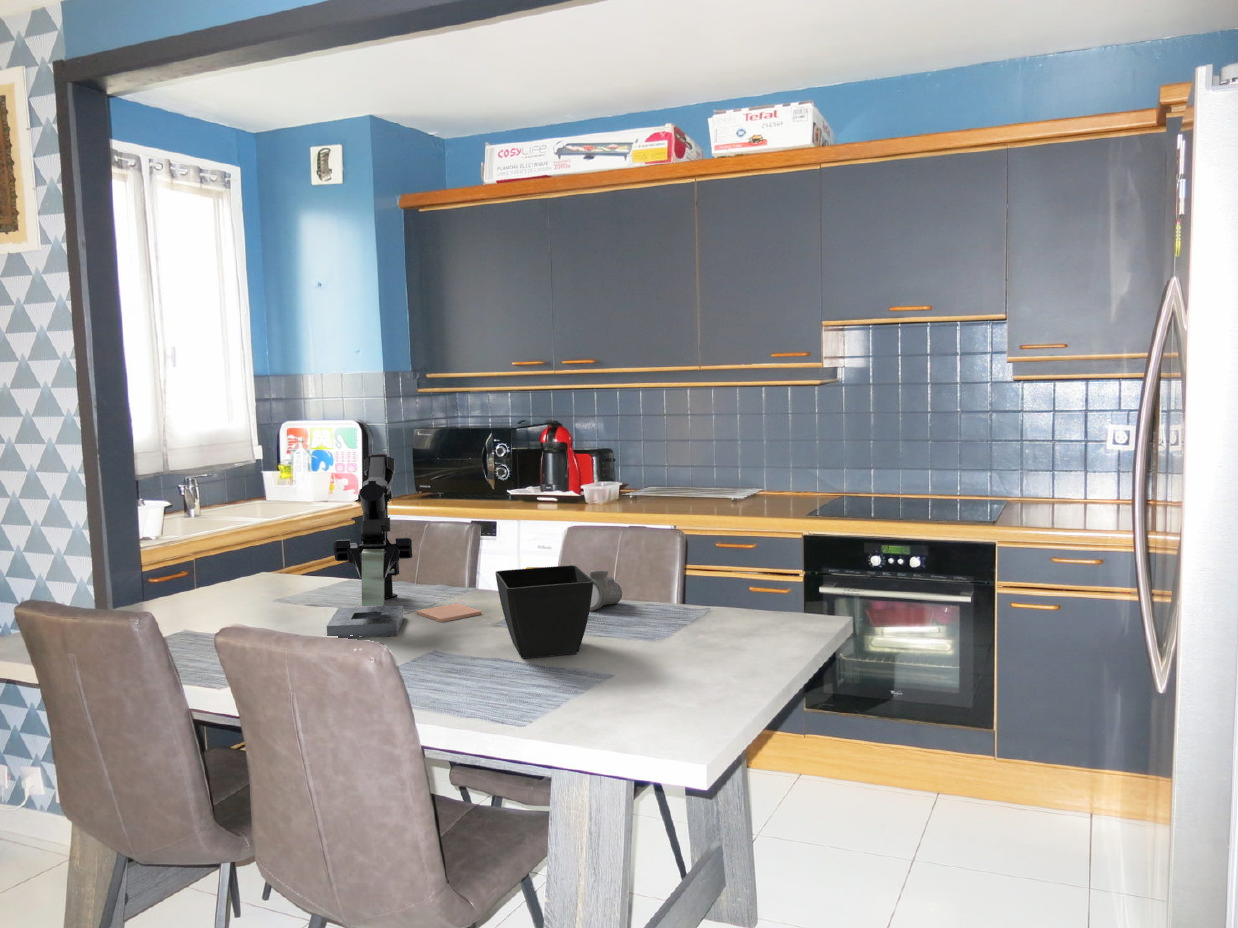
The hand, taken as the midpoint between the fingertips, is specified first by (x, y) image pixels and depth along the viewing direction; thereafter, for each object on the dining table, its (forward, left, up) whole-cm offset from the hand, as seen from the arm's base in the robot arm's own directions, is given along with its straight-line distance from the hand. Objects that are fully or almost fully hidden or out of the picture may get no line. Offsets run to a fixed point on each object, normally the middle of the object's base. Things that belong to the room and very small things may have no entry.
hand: (372, 577), depth 236 cm
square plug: (-1, +1, -7) cm, 7 cm away
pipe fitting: (+21, +55, -13) cm, 60 cm away
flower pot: (+43, +19, -13) cm, 49 cm away
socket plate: (-2, -1, -12) cm, 13 cm away
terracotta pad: (0, +21, -12) cm, 24 cm away
